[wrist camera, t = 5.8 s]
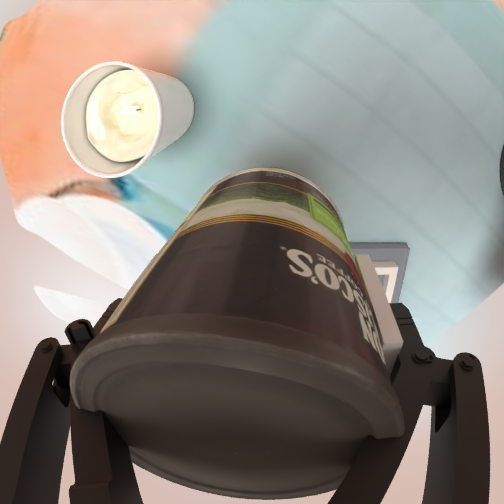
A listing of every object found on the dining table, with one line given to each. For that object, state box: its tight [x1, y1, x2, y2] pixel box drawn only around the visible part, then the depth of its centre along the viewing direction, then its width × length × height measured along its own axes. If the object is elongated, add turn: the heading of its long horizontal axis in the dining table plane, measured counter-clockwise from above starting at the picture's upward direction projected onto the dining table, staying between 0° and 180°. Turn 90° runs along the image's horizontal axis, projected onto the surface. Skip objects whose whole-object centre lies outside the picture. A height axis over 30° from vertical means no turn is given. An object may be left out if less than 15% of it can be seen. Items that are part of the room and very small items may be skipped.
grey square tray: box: [349, 243, 410, 303], centre depth 40 cm, size 18×18×3 cm
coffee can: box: [70, 167, 405, 500], centre depth 14 cm, size 10×10×14 cm
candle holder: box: [61, 61, 194, 178], centre depth 26 cm, size 10×10×12 cm
